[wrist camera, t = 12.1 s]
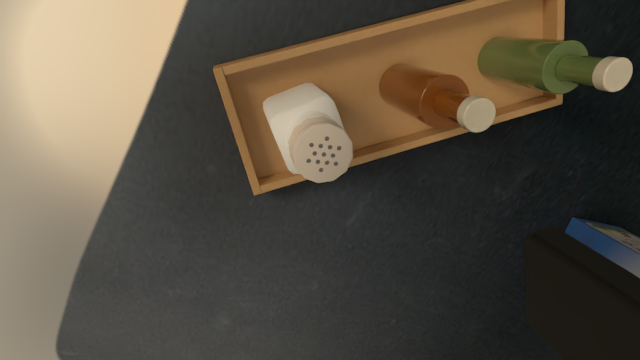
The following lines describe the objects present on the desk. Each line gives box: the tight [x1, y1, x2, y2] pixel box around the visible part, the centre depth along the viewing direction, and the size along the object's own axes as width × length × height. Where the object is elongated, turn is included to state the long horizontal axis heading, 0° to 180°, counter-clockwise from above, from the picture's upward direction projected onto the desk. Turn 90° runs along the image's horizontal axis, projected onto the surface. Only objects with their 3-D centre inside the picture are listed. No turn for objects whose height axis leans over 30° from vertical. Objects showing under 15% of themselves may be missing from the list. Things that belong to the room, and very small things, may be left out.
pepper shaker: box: [263, 83, 353, 183], centre depth 25 cm, size 4×4×10 cm
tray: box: [213, 0, 565, 195], centre depth 29 cm, size 25×9×2 cm, turn 103°
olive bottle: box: [478, 36, 633, 94], centre depth 26 cm, size 3×3×11 cm
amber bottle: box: [379, 63, 496, 133], centre depth 25 cm, size 3×3×11 cm
